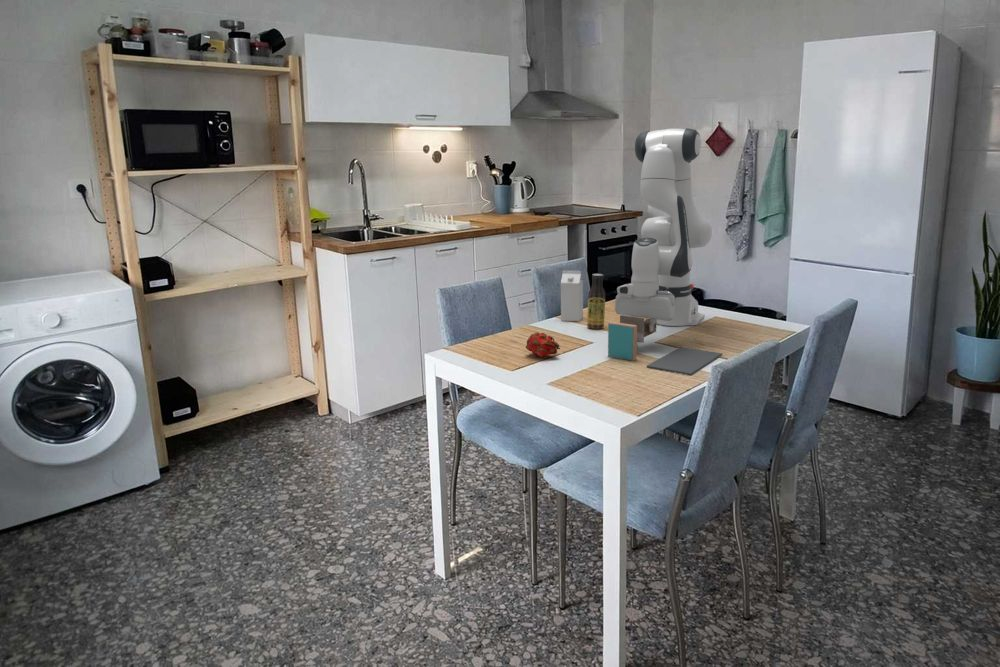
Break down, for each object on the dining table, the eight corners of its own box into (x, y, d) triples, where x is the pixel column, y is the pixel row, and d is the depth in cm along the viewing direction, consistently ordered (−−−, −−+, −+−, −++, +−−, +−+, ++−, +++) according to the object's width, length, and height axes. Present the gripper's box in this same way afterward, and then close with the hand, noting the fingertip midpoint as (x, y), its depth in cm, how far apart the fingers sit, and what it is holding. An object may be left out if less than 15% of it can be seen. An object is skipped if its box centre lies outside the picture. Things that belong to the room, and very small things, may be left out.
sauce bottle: (586, 329, 256) (587, 276, 251) (587, 325, 262) (587, 272, 257) (605, 329, 255) (605, 275, 250) (605, 325, 261) (605, 272, 256)
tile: (611, 354, 225) (611, 321, 223) (636, 359, 220) (637, 325, 217) (607, 356, 224) (607, 323, 221) (633, 361, 218) (633, 326, 215)
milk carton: (565, 316, 277) (564, 269, 272) (583, 317, 274) (582, 269, 269) (561, 321, 270) (560, 272, 265) (579, 321, 268) (579, 272, 263)
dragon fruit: (526, 357, 231) (557, 367, 225) (516, 348, 224) (548, 359, 218) (536, 334, 233) (567, 344, 227) (526, 324, 225) (559, 334, 219)
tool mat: (680, 348, 230) (680, 346, 230) (722, 355, 221) (722, 353, 221) (646, 367, 212) (646, 365, 211) (690, 375, 203) (690, 373, 203)
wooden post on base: (641, 329, 239) (641, 306, 237) (663, 332, 234) (663, 309, 232) (619, 339, 227) (620, 315, 225) (642, 342, 223) (642, 318, 221)
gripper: (679, 290, 224) (677, 332, 228) (621, 284, 236) (621, 324, 240) (670, 293, 219) (669, 336, 223) (612, 287, 232) (612, 328, 235)
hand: (643, 330), depth 231 cm, fingers closed on wooden post on base, 3 cm apart
